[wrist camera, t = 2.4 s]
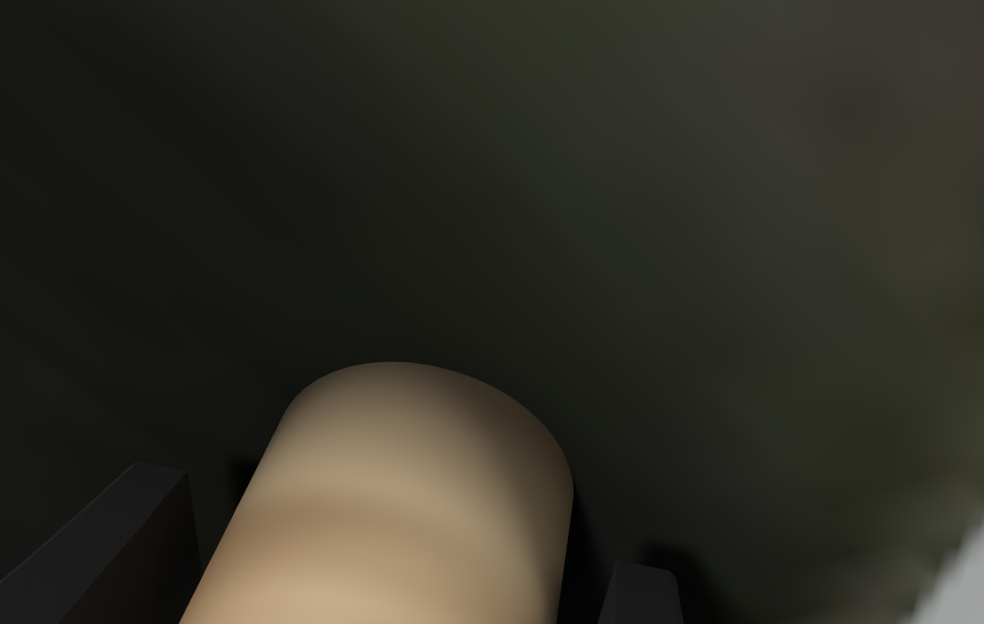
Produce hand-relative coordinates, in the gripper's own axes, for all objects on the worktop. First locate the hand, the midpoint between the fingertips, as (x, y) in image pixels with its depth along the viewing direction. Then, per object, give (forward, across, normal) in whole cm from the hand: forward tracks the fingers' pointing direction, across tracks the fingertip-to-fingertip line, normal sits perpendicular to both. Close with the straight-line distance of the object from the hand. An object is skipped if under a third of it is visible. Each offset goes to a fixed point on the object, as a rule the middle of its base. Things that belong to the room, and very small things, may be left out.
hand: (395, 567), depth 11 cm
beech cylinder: (+2, 0, 0) cm, 2 cm away
